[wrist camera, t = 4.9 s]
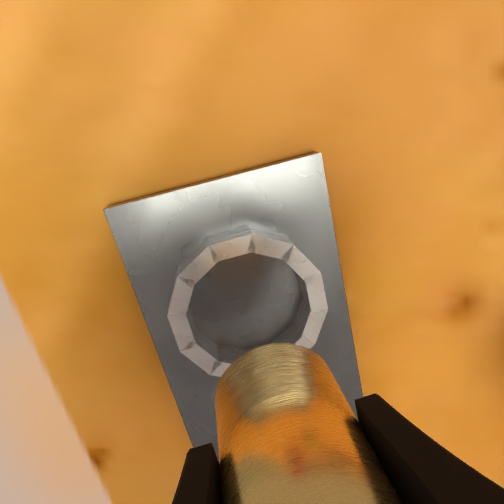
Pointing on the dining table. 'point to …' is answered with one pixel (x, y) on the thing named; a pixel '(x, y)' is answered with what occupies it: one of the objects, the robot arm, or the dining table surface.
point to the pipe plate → (237, 277)
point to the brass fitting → (292, 434)
